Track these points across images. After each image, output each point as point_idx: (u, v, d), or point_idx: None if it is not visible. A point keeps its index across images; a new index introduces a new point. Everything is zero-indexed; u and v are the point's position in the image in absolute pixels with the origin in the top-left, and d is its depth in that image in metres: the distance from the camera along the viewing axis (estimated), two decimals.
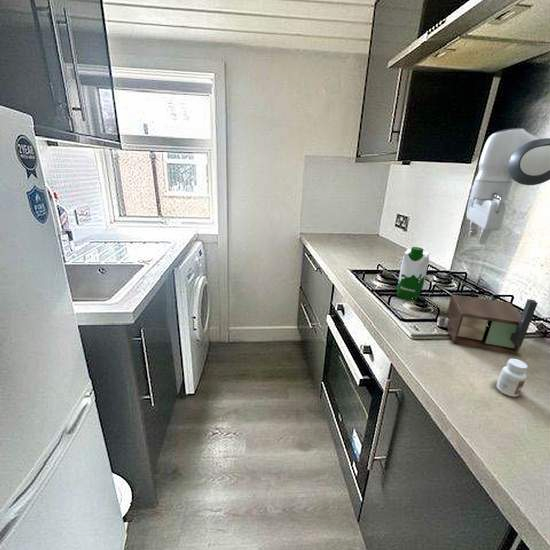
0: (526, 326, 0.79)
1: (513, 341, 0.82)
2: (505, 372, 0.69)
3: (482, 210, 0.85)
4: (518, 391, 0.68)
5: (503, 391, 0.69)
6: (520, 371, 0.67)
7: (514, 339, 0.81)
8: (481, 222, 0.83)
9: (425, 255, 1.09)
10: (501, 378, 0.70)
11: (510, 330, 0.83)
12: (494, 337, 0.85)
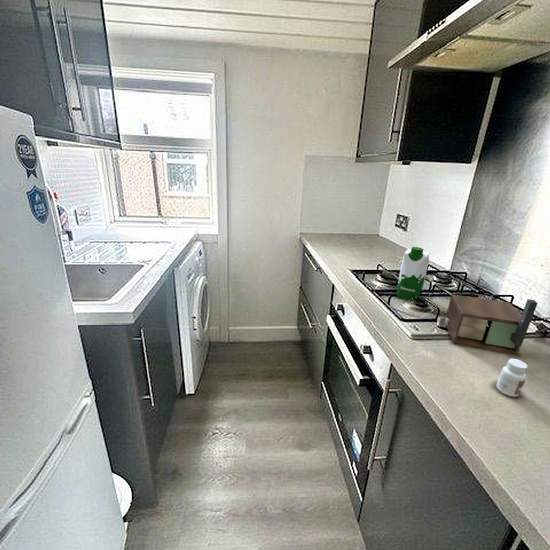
0: (526, 326, 0.79)
1: (513, 341, 0.82)
2: (505, 372, 0.69)
3: None
4: (518, 391, 0.68)
5: (503, 391, 0.69)
6: (520, 371, 0.67)
7: (514, 339, 0.81)
8: None
9: (425, 255, 1.09)
10: (501, 378, 0.70)
11: (510, 330, 0.83)
12: (494, 337, 0.85)
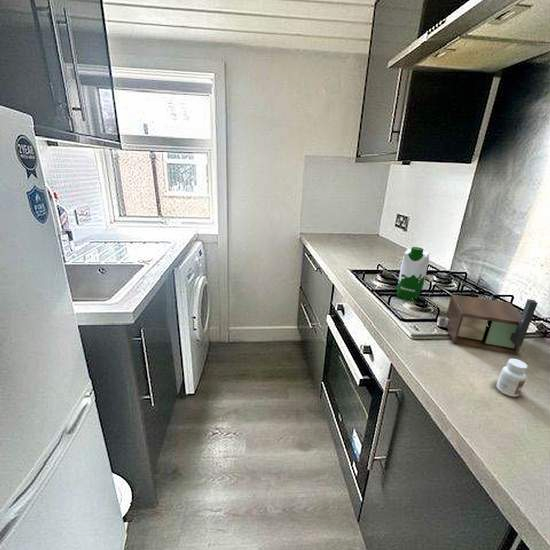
0: (526, 326, 0.79)
1: (513, 341, 0.82)
2: (505, 372, 0.69)
3: None
4: (518, 391, 0.68)
5: (503, 391, 0.69)
6: (520, 371, 0.67)
7: (514, 339, 0.81)
8: None
9: (425, 255, 1.09)
10: (501, 378, 0.70)
11: (510, 330, 0.83)
12: (494, 337, 0.85)
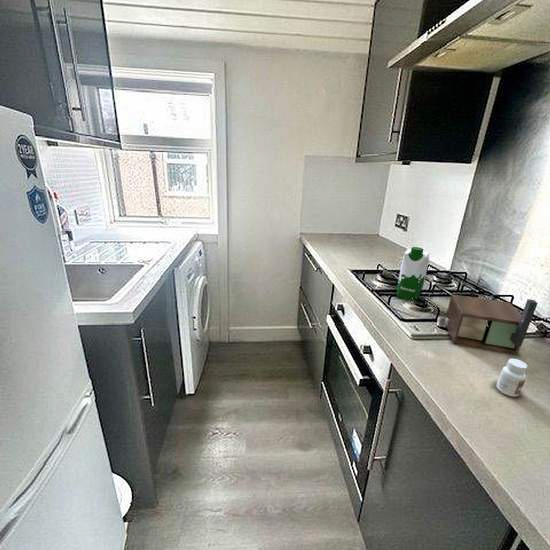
0: (526, 326, 0.79)
1: (513, 341, 0.82)
2: (505, 372, 0.69)
3: None
4: (518, 391, 0.68)
5: (503, 391, 0.69)
6: (520, 371, 0.67)
7: (514, 339, 0.81)
8: None
9: (425, 255, 1.09)
10: (501, 378, 0.70)
11: (510, 330, 0.83)
12: (494, 337, 0.85)
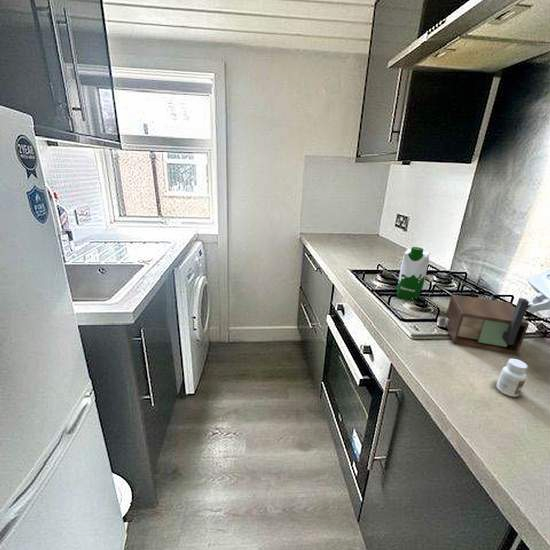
0: (518, 325, 0.79)
1: (505, 340, 0.82)
2: (505, 372, 0.69)
3: None
4: (518, 391, 0.68)
5: (503, 391, 0.69)
6: (520, 371, 0.67)
7: (506, 338, 0.82)
8: None
9: (425, 255, 1.09)
10: (501, 378, 0.70)
11: (503, 329, 0.84)
12: (487, 336, 0.86)
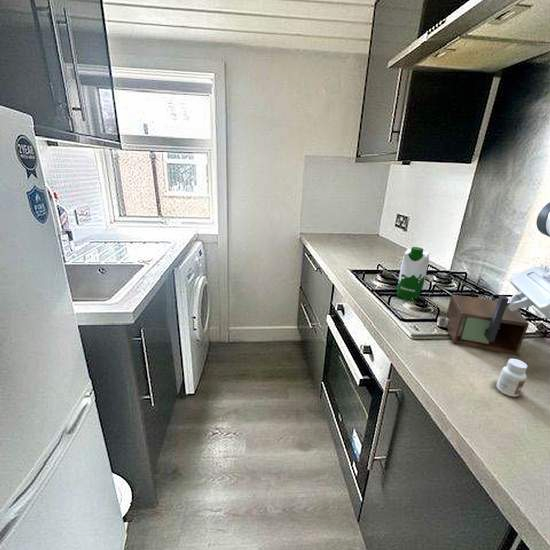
0: (498, 322, 0.80)
1: (487, 336, 0.84)
2: (505, 372, 0.69)
3: None
4: (518, 391, 0.68)
5: (503, 391, 0.69)
6: (520, 371, 0.67)
7: (487, 334, 0.83)
8: None
9: (425, 255, 1.09)
10: (501, 378, 0.70)
11: (484, 326, 0.85)
12: (469, 333, 0.87)
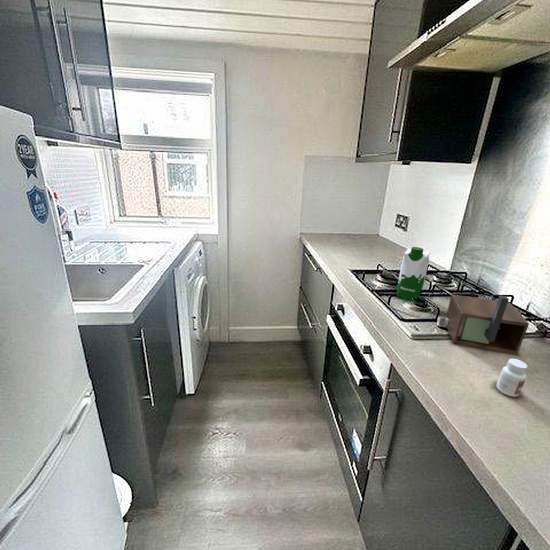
0: (498, 322, 0.80)
1: (487, 336, 0.84)
2: (505, 372, 0.69)
3: None
4: (518, 391, 0.68)
5: (503, 391, 0.69)
6: (520, 371, 0.67)
7: (487, 334, 0.83)
8: None
9: (425, 255, 1.09)
10: (501, 378, 0.70)
11: (484, 326, 0.85)
12: (469, 333, 0.87)
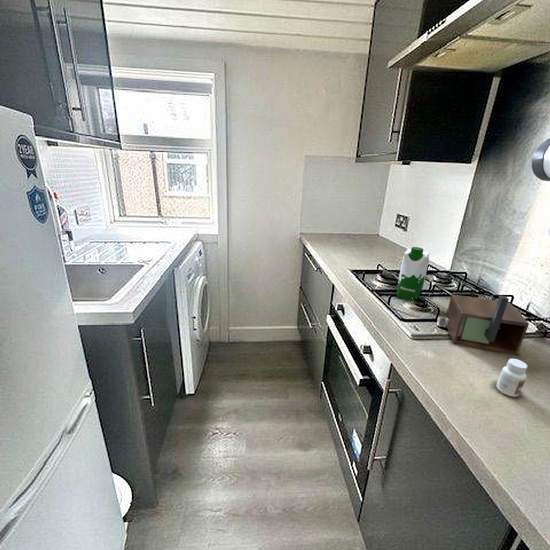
0: (498, 322, 0.80)
1: (487, 336, 0.84)
2: (505, 372, 0.69)
3: None
4: (518, 391, 0.68)
5: (503, 391, 0.69)
6: (520, 371, 0.67)
7: (487, 334, 0.83)
8: None
9: (425, 255, 1.09)
10: (501, 378, 0.70)
11: (484, 326, 0.85)
12: (469, 333, 0.87)
